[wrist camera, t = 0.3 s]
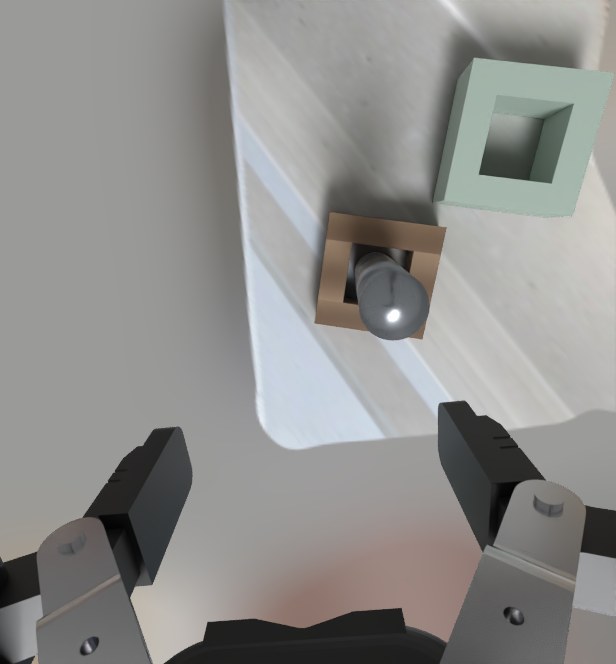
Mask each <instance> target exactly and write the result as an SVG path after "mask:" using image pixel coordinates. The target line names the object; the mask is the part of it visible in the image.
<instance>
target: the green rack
mask: <svg viewBox="0 0 616 664" xmlns="http://www.w3.org/2000/svg"><path fill="white" fill-rule="evenodd" d="M614 74H615V73H611V72H602V71H593V70H583V69H574V68H565V67H555V66H546V65H537V64H527V63H518V62H509V61H499V60H490V59H481V58H474V59H473V60H472V61H471V62H470V64H469V65H468V66H467V68H466V69H465V70H464V72H463V73H462V74H461V76H460V77H459V78H458V80H457V85H456V90H455V95H454V100H453V105H452V110H451V115H450V119H449V124H448V129H447V134H446V139H445V144H444V149H443V154H442V159H441V164H440V169H439V174H438V178H437V183H436V188H435V193H434V198H433V203H435V204H443V205H451V206H459V207H466V208H474V209H482V210H490V211H497V212H505V213H513V214H521V215H529V216H536V217H544V218H548V217H572V216H573V212H574V209H575V205H576V202H577V199H578V195H579V192H580V189H581V185H582V182H583V179H584V175H585V172H586V168H587V165H588V162H589V158H590V155H591V152H592V148H593V145H594V142H595V138H596V135H597V131H598V128H599V125H600V121H601V118H602V115H603V111H604V108H605V105H606V101H607V98H608V94H609V91H610V88H611V84H612V81H613V78H614ZM493 113H498V114H507V115H516V116H524V117H533V118H542V119H545V120H544V124H543V128H542V132H541V136H540V139H539V143H538V147H537V151H536V155H535V158H534V162H533V166H532V170H531V174H530V178H529V181H526V180H518V179H510V178H502V177H494V176H486V175H479V170H480V166H481V162H482V157H483V153H484V149H485V144H486V140H487V136H488V131H489V127H490V122H491V118H492V114H493Z"/></svg>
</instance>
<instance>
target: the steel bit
mask: <svg viewBox="0 0 616 664" xmlns="http://www.w3.org/2000/svg"><path fill="white" fill-rule="evenodd" d="M354 276H355V284H356V291H357V298H358V305H359V312H360V317H361V320H362V322H363V324H364V325H365V327H366V328H367V329H368V330H369V331H370V332H371V333H372V334H374V335H375V336H377V337H379V338H382V339H386V340H400V339H404V338H407V337H409V336H411V335H413V334H414V333H416V332H417V331H418V330H419V329H420V328H421V327H422V326H423V324H424V323H425V321H426V319H427V317H428V313H429V307H430V303H429V297H428V294H427V291H426V289H425V288H424V286H423V285H422V284H421V283H420V282H419V281H418V280H417V279H416V278H415V277H413V276H412V275H411V274H410V273H408V272H407V271H406V270H405V269H403V268H402V267H401V266H400V265H398V264H397V263H396V262H395V261H393V260H392V259H391V258H390V257H388V256H387V255H385V254H383V253H378V252H375V253H369V254H367V255H365V256H363V257H362V258H361V259H360V260H359V261H358V263H357V265H356V267H355V272H354Z"/></svg>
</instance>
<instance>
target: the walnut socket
mask: <svg viewBox="0 0 616 664" xmlns="http://www.w3.org/2000/svg"><path fill="white" fill-rule="evenodd" d="M446 228H447V227H439V226H432V225H424V224H417V223H409V222H401V221H394V220H386V219H379V218H371V217H363V216H356V215H348V214H341V213H333V212H330V215H329V222H328V229H327V237H326V244H325V251H324V259H323V266H322V273H321V280H320V288H319V295H318V302H317V310H316V317H315V323H316V324H323V325H329V326H336V327H343V328H350V329H356V330H363V331H369V330H368V329H367V328H366V327H365V325H364V324H363V322H362V320H361V317H360V312H359V305H358V299H354V298H347V297H344V292H345V286H346V279H347V273H348V266H349V260H350V253H351V247H352V243H358V244H365V245H373V246H380V247H387V248H395V249H402V250H409V251H408V256H407V261H406V266H405V270H406V271H407V272H408V273H410V274H411V275H412V276H413V277H415V278H416V279H417V280H418V281H419V282H420V283H421V284H422V285H423V286H424V288H425V289H426V291H427V294H428V297H429V303H430V302H431V297H432V293H433V288H434V283H435V279H436V274H437V270H438V265H439V260H440V256H441V251H442V246H443V242H444V237H445V233H446ZM426 320H427V319H426ZM425 325H426V321H425V323H424V324H423V326H422V327H421V328H420V329H419V330H418V331H417V332H416V333H414V334H413V335H411V336H409V337H410V338H417V339H423V334H424V330H425Z"/></svg>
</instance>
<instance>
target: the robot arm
mask: <svg viewBox="0 0 616 664" xmlns="http://www.w3.org/2000/svg"><path fill="white" fill-rule="evenodd" d="M438 451H439V457H440V461H441V465H442V467H443V469H444V471H445V474H446V476H447V478H448V480H449V482H450V484H451V486H452V488H453V490H454V493H455V495H456V497H457V499H458V501H459V503H460V505H461V507H462V509H463V512H464V514H465V516H466V518H467V520H468V522H469V524H470V526H471V529H472V531H473V533H474V535H475V537H476V539H477V541H478V543H479V545H480V547H481V550H482V551H483V554H482V557H481V559H480V562H479V564H478V567H477V569H476V572H475V575H474V577H473V580H472V582H471V585H470V588H469V590H468V593H467V595H466V598H465V600H464V603H463V605H462V608H461V610H460V613H459V615H458V618H457V621H456V623H455V626H454V628H453V631H452V633H451V636H450V638H449V641H448V643H446V642H444V641H443V640H441V639H440V638H438V637H436V636H434V635H432V634H430V633H428V632H425V631H422V630H419V629H417V628H413V627H409V626H405V622H404V618H403V613H402V608H398V609H397V608H396V609H382V610H368V611H355V612H351V613H348V614H345V615H342V616H339V617H336V618H333V619H331V620H328V621H325V622H322V623H319V624H316V625H313V626H311V627H307V628H296V627H291V626H287V625H282V624H277V623H272V622H268V621H263V620H258V619H245V620H230V621H216V622H208V623H207V627H206V631H205V635H204V639H203V641H202V642H199V643H196V644H194V645H192V646H190V647H188V648H186V649H184V650H183V651H181V652H180V653H178V654H176V655H175V656H173V657H172V658H171V659H170V660H168V661H167V662H165V663H164V664H564V658H565V652H566V645H567V638H568V632H569V625H570V619H571V612H572V607H575V608H579V609H584V610H588V611H592V612H597V613H601V614H605V615H610V616H614V617H616V511H614V510H608V509H601V508H595V507H590V506H586V505H584V504H583V502H582V500H581V499H580V498H579V497H578V496H577V495H576V494H575V493H573V492H572V491H571V490H569V489H567V488H566V487H564V486H561V485H559V484H556V483H554V482H550V481H546V480H545V479H544V477H543V476H542V475H541V473H540V472H539V471H538V470H537V469H536V467H535V466H534V465H533V464H532V463H531V461H530V460H529V459H528V457H527V456H526V455H525V454H524V452H523V451H522V450H521V449H520V448H518V445H517V444H516V442H515V441H514V440H513V439H512V438H510V435H509V434H508V433H507V431H506V430H505V429H504V428H503V426H502V425H501V424H499V423H498V422H496V421H495V420H493V419H491V418H490V417H488V416H486V415H484V416H477V415H476V414H475V413H474V411H473V410H472V409H471V407H470V406H469V404H468V403H467V402H466V401H454V402H444V403H440V404H439V406H438ZM191 485H192V467H191V463H190V459H189V455H188V451H187V447H186V443H185V439H184V435H183V432H182V429H181V428H180V427H170V428H158V429H154V430H153V431H152V433H151V434H150V436H149V437H148V439H147V440H146V442H145V443H144V445H143V446H138V447H136V448H135V449H134V450H133V451H131V452H130V453H129V454H128V455H127V456H126V457H124V458H123V460H122V461H121V462H120V464H119V465H118V467H117V468H116V470H115V473H113V474H112V476H111V477H110V478H109V480H108V483H106V484H105V486H104V487H103V489H102V490H101V491H100V493H99V495H98V496H97V497H96V499H95V500H94V502H93V503H92V505H91V506H90V507H89V509H88V510H87V512H86V513H85V515H84V516H83V518H80V519H77V520H74V521H71V522H69V523H67V524H65V525H63V526H61V527H60V528H58V529H57V530H55V531H54V532H53V533H51V534H50V535H49V536H48V537H47V538H46V539H45V540H44V541H43V543H42V544H41V546H40V547H39V550H38V552H35V553H32V554H29V555H25V556H22V557H19V558H17V559H13V560H10V561H7V562H4V563H3V562H2V559H1V558H0V664H31V663H32V661H33V659H34V657H35V655H37V654H38V662H39V664H153V663H152V659H151V657H150V654H149V651H148V648H147V645H146V642H145V639H144V636H143V634H142V631H141V628H140V625H139V622H138V620H137V616H136V613H135V611H134V608H133V605H132V602H131V599H130V597H131V594H132V592H133V590H134V587H135V586H147V585H152V584H153V582H154V579H155V577H156V574H157V572H158V569H159V567H160V564H161V562H162V559H163V556H164V554H165V552H166V549H167V547H168V544H169V541H170V539H171V536H172V534H173V531H174V529H175V526H176V524H177V521H178V519H179V516H180V514H181V511H182V508H183V506H184V504H185V501H186V499H187V496H188V494H189V491H190V488H191Z"/></svg>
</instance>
